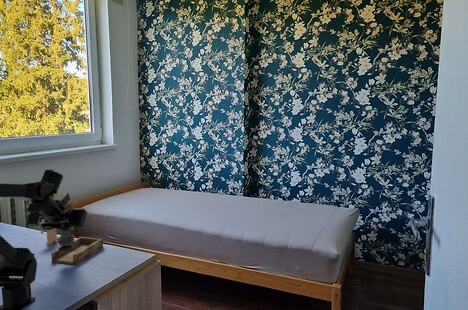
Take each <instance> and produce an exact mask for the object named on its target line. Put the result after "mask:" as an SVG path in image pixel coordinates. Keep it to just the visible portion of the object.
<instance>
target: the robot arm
mask: <svg viewBox="0 0 468 310" xmlns="http://www.w3.org/2000/svg"><path fill="white" fill-rule="evenodd" d="M63 179H64V175H63V174H62V173H60V172H57V171H55V170H53V169H50V168H49V169H48V168H47V169H45V170H44V173H43V176H42V177H41V179H40V180H20V181H16V182H14V183H0V198H13V199H15V200H19V201H29V204H28V207H27V213H28V216H27V218H26V224H27V225H28V226H29V227H38V226H39V224H40V227H41V228H42V227H46V228H55V230H61V229H60V227H61V222H65V223H64V226H63V228H67V229H70V231H72V230H74V228H79V229H80V228H82V227H83V226H84V224H85V221H86V218H87V215H88V212H87V209H85V208H83V207H82V208H80V207H78V208H77V207H76V208H72V210H71V209H70V210H67V208H68V207H67V204H68V203H69V202H70V200H71V197H70V194H69V191H68V190H67V191H66V190H59V189H60V187H61V184H62V183H63ZM35 255H36V254H35V253H32V251H31V250H30V248H28V247H14V246H13V245H12V244H10V243H9V241H7V240H6V239H5V238H4V237H3V236H2V235H1V234H0V288H1V298H2V299H1V300H2V304H1V305H0V310H22V309H24V308H26V307H27V306H28V305H30V304H31V303H33V302H34V301H36V297H32V289H31V287H32V286H31V284H32V283H33V282H35V280H36V277H37V276H36V275H37V268H38V261H37V259H36V257H35Z"/></svg>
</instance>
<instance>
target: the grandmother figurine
mask: <svg viewBox="0 0 468 310" xmlns="http://www.w3.org/2000/svg"><path fill="white" fill-rule="evenodd" d="M45 230H46V241H47V242H46V245H47V246H52V245H53V244H57V243H58V241H57V238H58V234H57V229H55V228H46V227H41V231H40V233H41V235H42V234H44V233H45ZM58 244H59V243H58Z"/></svg>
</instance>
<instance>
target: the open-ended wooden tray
mask: <svg viewBox="0 0 468 310" xmlns="http://www.w3.org/2000/svg"><path fill="white" fill-rule="evenodd" d="M72 245H74V246H75V247H74V248H73V249H71V250H66V251H61V250H58V248H57V249H55V250H53V251H51V252H50V253H51V254H50V256H51V257H50V258H51V263H58V264H65V265H71V266H72V265H74V266H77V265H78V264H80V263H81V262H82V261H84V260H86V259H88V258H89V257H91V256H92V255H93V254H96V253H97V252H98V251H100V250H101V249H103V248H104V239H103V238H96V237H86V236H79V237H78V238H76V239H74V242H73V243H72Z"/></svg>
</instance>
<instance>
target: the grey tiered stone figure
mask: <svg viewBox="0 0 468 310" xmlns="http://www.w3.org/2000/svg"><path fill="white" fill-rule="evenodd" d="M60 223H61V227H60V229H59V230H60V236H59V237H58V236H57V241H58V245H59V247H58V248H57V249H58V250H61V251H66V250H71V249H73V248H74V247H75V246H74V245H72V243H73V242H74V240H75V238H76V236H75V235H73V234H72V233H71V229H67V228H63V226H64V223H65V222H60Z"/></svg>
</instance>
